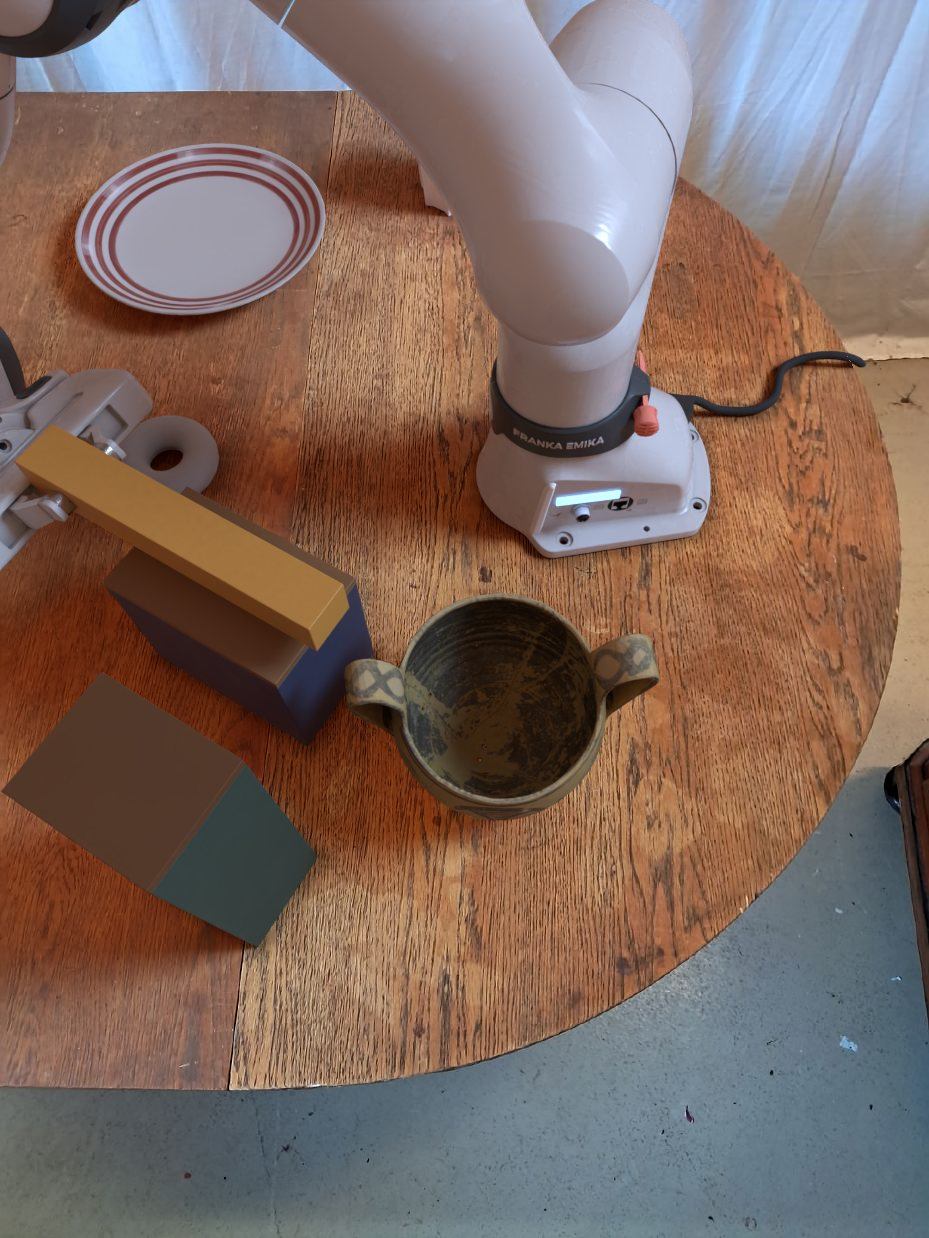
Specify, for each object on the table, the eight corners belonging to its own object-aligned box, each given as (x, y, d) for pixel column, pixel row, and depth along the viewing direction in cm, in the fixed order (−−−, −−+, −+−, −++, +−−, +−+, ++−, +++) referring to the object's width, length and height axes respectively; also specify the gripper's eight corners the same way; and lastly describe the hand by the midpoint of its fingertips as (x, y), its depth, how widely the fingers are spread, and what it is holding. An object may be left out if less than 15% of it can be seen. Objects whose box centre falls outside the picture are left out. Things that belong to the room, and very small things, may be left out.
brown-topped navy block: (160, 657, 79) (101, 582, 66) (230, 572, 83) (186, 485, 70) (308, 746, 75) (275, 685, 63) (374, 653, 79) (355, 577, 66)
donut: (106, 505, 86) (204, 521, 85) (91, 484, 83) (193, 500, 82) (142, 423, 91) (236, 437, 89) (130, 400, 88) (227, 415, 86)
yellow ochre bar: (34, 489, 67) (13, 461, 64) (70, 451, 69) (51, 423, 66) (317, 652, 61) (308, 630, 58) (349, 607, 63) (343, 583, 60)
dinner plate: (113, 160, 108) (103, 135, 105) (340, 165, 107) (336, 139, 104) (59, 333, 96) (46, 310, 93) (314, 339, 95) (309, 316, 92)
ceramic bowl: (611, 637, 80) (640, 551, 66) (645, 827, 72) (684, 775, 59) (361, 658, 79) (337, 575, 65) (368, 852, 71) (344, 804, 58)
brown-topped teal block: (156, 878, 71) (0, 790, 47) (219, 793, 74) (101, 671, 50) (257, 947, 68) (146, 891, 45) (318, 856, 71) (243, 759, 48)
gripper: (-117, 533, 68) (-51, 558, 59) (67, 355, 76) (150, 353, 67) (-49, 585, 72) (22, 616, 63) (118, 412, 80) (203, 417, 71)
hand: (89, 480), depth 65 cm, fingers closed on yellow ochre bar, 4 cm apart
